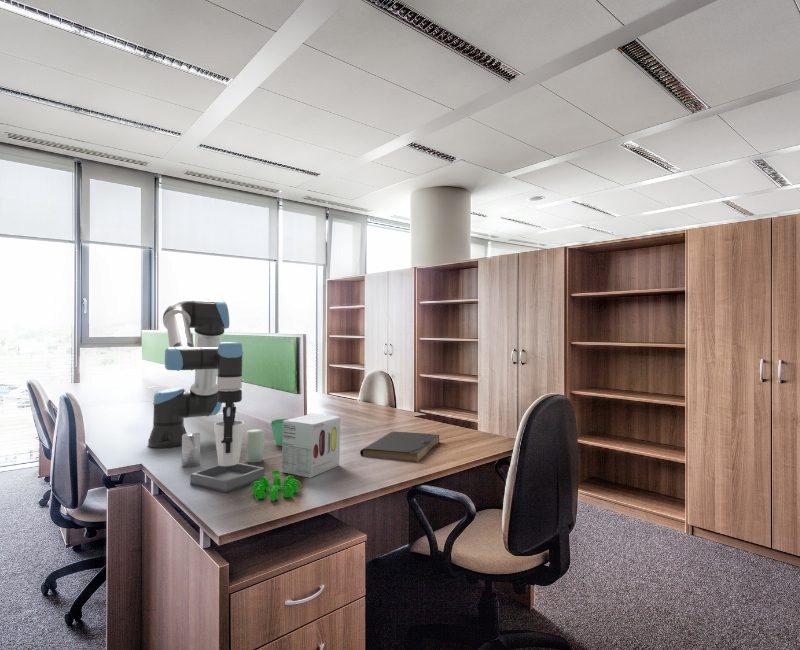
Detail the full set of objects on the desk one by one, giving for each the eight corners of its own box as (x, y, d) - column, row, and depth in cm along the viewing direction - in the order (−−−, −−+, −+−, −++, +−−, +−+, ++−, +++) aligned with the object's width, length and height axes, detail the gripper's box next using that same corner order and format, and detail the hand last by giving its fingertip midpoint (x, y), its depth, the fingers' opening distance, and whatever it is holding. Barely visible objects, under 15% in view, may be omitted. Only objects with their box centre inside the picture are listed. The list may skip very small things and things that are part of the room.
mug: (266, 446, 193) (267, 422, 193) (276, 441, 202) (276, 418, 203) (300, 448, 190) (300, 424, 191) (308, 442, 200) (308, 419, 200)
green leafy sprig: (301, 484, 147) (301, 463, 147) (300, 502, 132) (300, 478, 132) (252, 487, 144) (253, 465, 144) (245, 505, 130) (246, 480, 130)
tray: (190, 484, 145) (190, 473, 145) (230, 471, 159) (230, 461, 160) (226, 493, 138) (226, 481, 138) (264, 478, 152) (264, 467, 152)
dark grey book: (418, 452, 173) (360, 447, 181) (418, 463, 173) (360, 457, 181) (440, 434, 204) (389, 430, 212) (440, 443, 204) (389, 439, 212)
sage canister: (242, 461, 172) (243, 431, 172) (254, 457, 177) (255, 428, 177) (254, 463, 169) (255, 433, 169) (266, 459, 174) (267, 430, 174)
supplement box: (311, 478, 152) (312, 424, 153) (280, 472, 158) (281, 420, 159) (341, 465, 168) (341, 416, 168) (311, 460, 174) (312, 412, 174)
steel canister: (177, 466, 165) (178, 435, 165) (192, 461, 170) (192, 432, 170) (189, 468, 162) (189, 437, 162) (203, 464, 167) (203, 433, 167)
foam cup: (249, 463, 149) (249, 423, 149) (222, 469, 142) (222, 427, 142) (234, 457, 155) (235, 419, 156) (207, 463, 149) (208, 423, 149)
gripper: (241, 393, 140) (240, 467, 139) (242, 385, 161) (241, 449, 160) (214, 394, 137) (213, 469, 137) (219, 385, 158) (218, 450, 158)
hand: (228, 458), depth 149 cm, fingers closed on foam cup, 9 cm apart
